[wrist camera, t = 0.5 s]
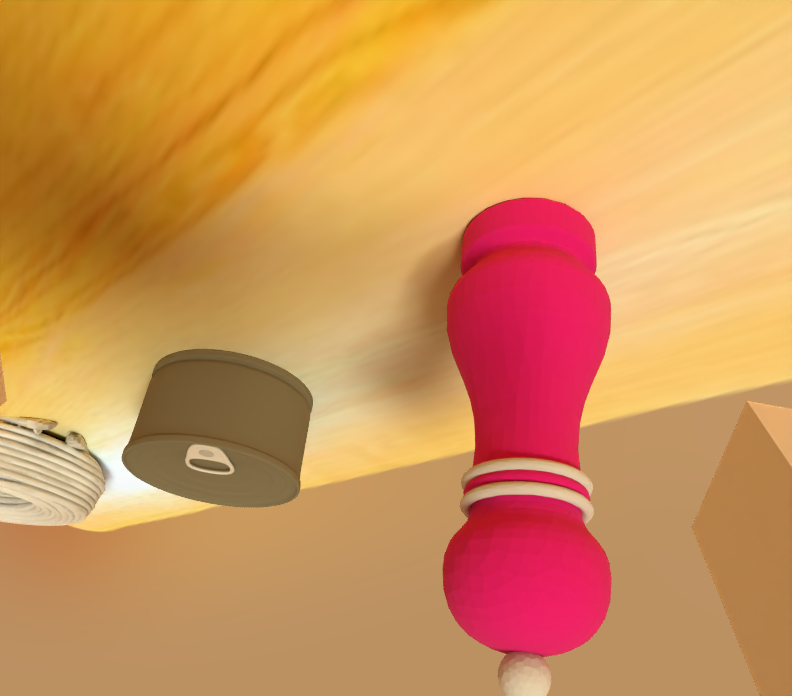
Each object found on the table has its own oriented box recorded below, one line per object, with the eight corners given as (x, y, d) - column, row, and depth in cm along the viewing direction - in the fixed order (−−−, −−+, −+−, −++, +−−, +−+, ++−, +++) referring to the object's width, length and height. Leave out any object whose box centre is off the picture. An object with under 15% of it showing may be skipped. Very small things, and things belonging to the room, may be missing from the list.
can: (163, 411, 55) (138, 493, 52) (137, 333, 45) (103, 429, 42) (312, 434, 56) (297, 516, 53) (319, 363, 46) (301, 459, 42)
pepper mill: (514, 303, 38) (507, 715, 27) (421, 235, 34) (371, 688, 23) (636, 248, 33) (682, 723, 23) (544, 162, 29) (549, 690, 19)
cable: (69, 414, 58) (42, 482, 55) (137, 486, 73) (119, 543, 70) (-127, 396, 59) (-164, 461, 56) (-21, 471, 74) (-45, 526, 71)
